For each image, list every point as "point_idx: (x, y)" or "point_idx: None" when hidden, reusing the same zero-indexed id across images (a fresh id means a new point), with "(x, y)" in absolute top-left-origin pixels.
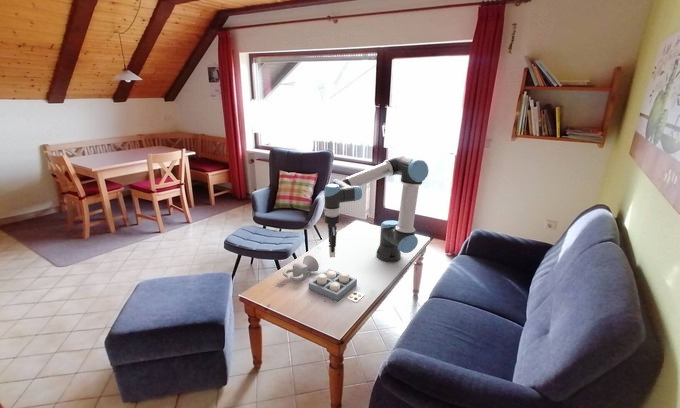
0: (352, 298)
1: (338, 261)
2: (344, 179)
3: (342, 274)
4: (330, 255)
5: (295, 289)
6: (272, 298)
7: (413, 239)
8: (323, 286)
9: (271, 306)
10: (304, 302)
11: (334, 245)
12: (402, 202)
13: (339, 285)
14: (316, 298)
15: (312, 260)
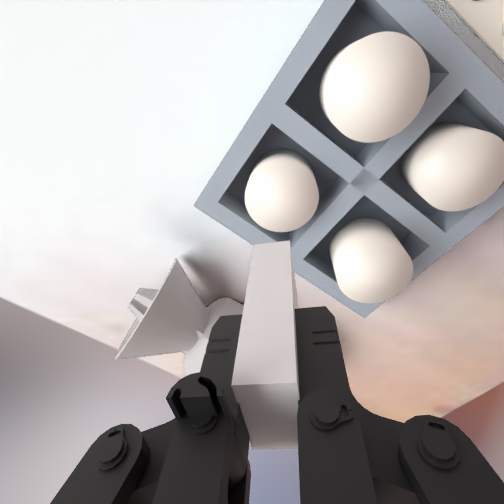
0: None
1: (10, 124)
2: None
3: (367, 110)
4: (297, 306)
5: (345, 339)
6: (400, 402)
7: None
8: None
9: (455, 403)
10: (467, 305)
11: (472, 488)
12: None
13: (483, 135)
14: (448, 255)
15: (159, 326)
